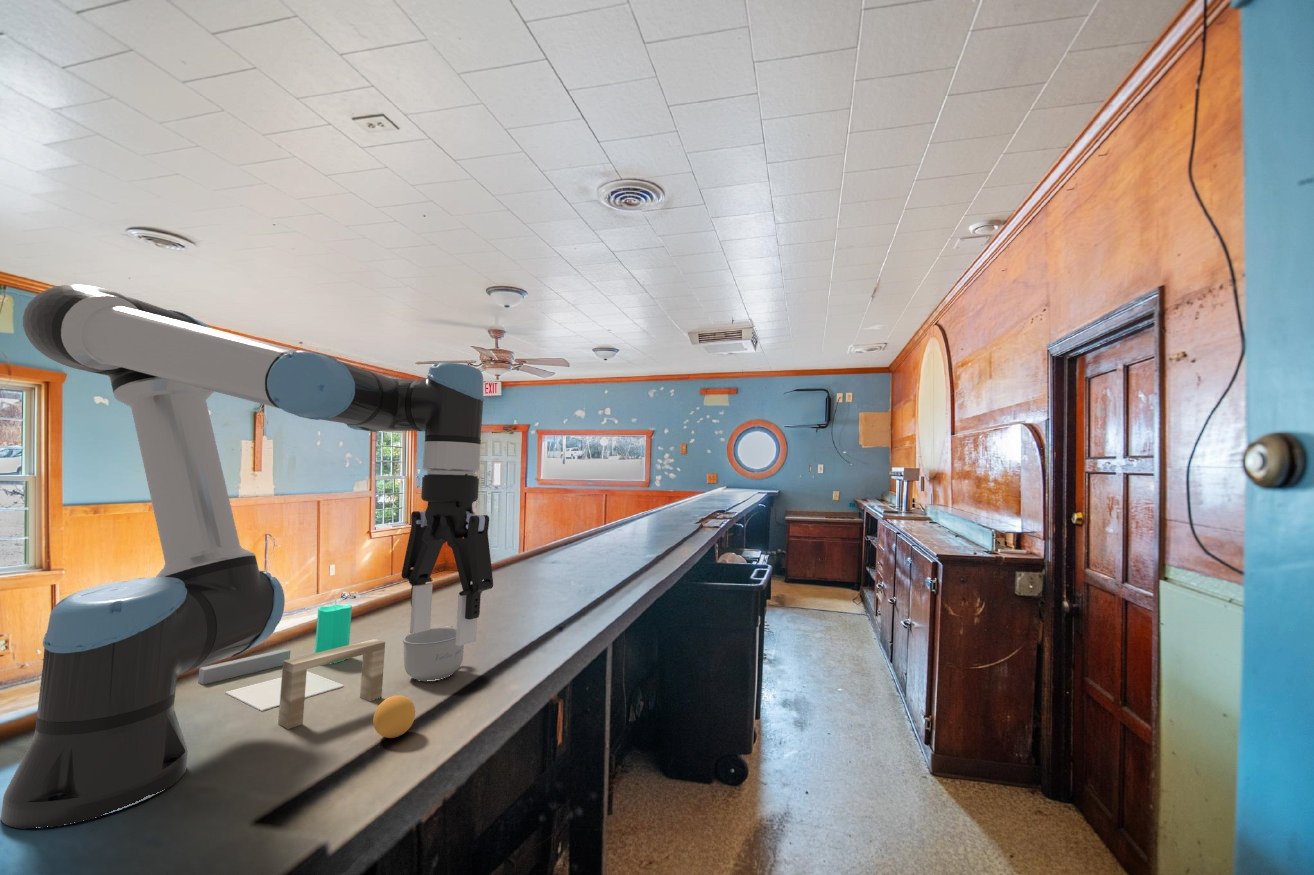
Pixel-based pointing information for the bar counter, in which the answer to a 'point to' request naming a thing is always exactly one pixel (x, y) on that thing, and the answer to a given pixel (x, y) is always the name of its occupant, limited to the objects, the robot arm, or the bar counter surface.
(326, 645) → the candle
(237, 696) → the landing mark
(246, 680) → the bar counter surface
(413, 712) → the ball
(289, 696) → the bridge
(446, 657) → the teacup
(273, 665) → the stopper
